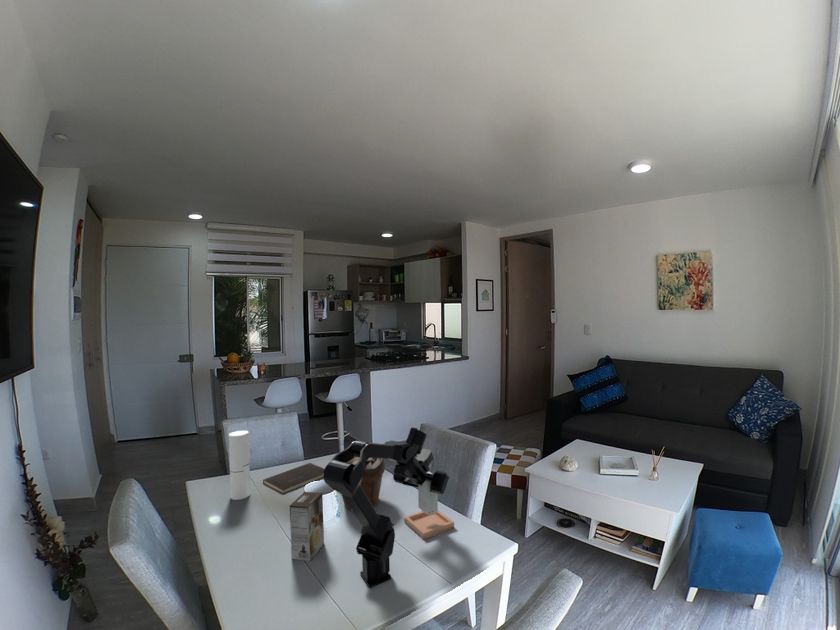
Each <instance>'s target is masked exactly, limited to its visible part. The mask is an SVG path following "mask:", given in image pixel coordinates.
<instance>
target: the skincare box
mask: <svg viewBox="0 0 840 630" xmlns="http://www.w3.org/2000/svg"><path fill="white" fill-rule="evenodd" d="M427 473H429V474H433V473H432V472H431V471H429V472H427ZM430 484H431V482H428V481H425V482H424V483H423V484H422V486H420V485H418V487H417V490H418V491H417V492H418V495H417V496H418V501H417V502H418V503H417V504H418V506H417V507H418V509H420V510H421V511H423V512H425V513H426V514H427V515H431V514H434V513H437V512H438V510H439V509H438V508H439V507H438V505H439V503H438V498H439V497H438V493H433V492H430Z"/></svg>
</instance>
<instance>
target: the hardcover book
mask: <svg viewBox="0 0 840 630" xmlns="http://www.w3.org/2000/svg"><path fill="white" fill-rule="evenodd" d="M324 469H325V467H321V466H319V465H316V464H314V463H312V462H309V463H306V464H303V465H300V466H298V467H295V468H291V469H288V470H286V471H283V472H281V473H277V474H275V475H272V476H269V477H267V478H264V479H263V480H262V484H265V485H267V486H268V487H271V488H272V489H273V490H276V491H278V492H280V493H282V494H284V493H287V492H289V491H292V490H295V489H296V488H300V487H302V486H304V485H307V484H309V482H310V483H312V482H314V481H317V480H319V479H321V478H322V479H323V475H324Z"/></svg>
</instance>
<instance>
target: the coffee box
mask: <svg viewBox="0 0 840 630" xmlns="http://www.w3.org/2000/svg"><path fill="white" fill-rule="evenodd" d="M323 504H324V503H323V492H315V491H314V492H311V491H309V492H308V491H304V492H303V493H301V495H300V496H298V497H297V498H296V499H295V500H293V502H292V503H291V504H290V505H289V522H290V523H289V525H290V528H289V529H290V551H291V560H296V561H297V560H300V561H307V562H310V561H312V560H313V558H314V557H315V555H316V554H317V553H318V552H319V550H321V548H322V547H323V545H324V544H325V536H324V535H325V531H324V507H323V506H324V505H323Z"/></svg>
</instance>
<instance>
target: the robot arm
mask: <svg viewBox="0 0 840 630" xmlns="http://www.w3.org/2000/svg"><path fill="white" fill-rule="evenodd" d="M427 437H428V436H427V433H425V432H423V431H421V430H420V429H418V428H417V427H410V429H409V433H408V435H407V438H406V440H405V441H396V440H389V441H385V442H384V443H379V442H368V441H361V440H353V441H352V442H351V443H350V444H349V445H348V447H346V448H344V449H343V450H341V451H339V452H338V453H336V454H335V455H334V456H333V457H332V458H331V460H330V461H329V462H328V463H327V464H326V466H325V467H324V475H323V477H322V479H323V481H324V483H325V484H327V486H328V487H330V488H331V489H332V490H334V491H335V492H337V493H339V494H340V495H341V496H342V495H343V497H344V498H345V500H346V501H347V503H348V505H349V506H350V508H351V509H352V510H351V509H350V510H351V511H352V512H353V515H355V517H356V518H357V520H358V522H359V523H360V525H361V526H362V527H361V530H360V533H361V535H360V538H359V539H358V543H357V545H356V547H355V549H356V550H355V551H356V552H357V555H361V557H362V558H361V559H362V560H361V563H362V570H361V571H360V572H359V574H360V577H361V578H362V579H363V580H364V582H365V583H366V585H367V586H368V587H369V588H373V587H375V586H377V585H379V584H382V583H384V582H386V581H389V580H390V579H392V575H391V574H390V563H391V562H390V557H391V556H392V555H393V552H394V545H395V539H396V533H395V532H396V531H395V528H394V525H395V524H394V523H392V521H391V518H390V517H389V516H388V515H385V514H382V513H378V512H377V511H376V509H375V508H374V507H375V506H374V507H373V506H372V504H371V502H370V501H369V499H368V497H367V496H366V494H365V492H364V491H363V489H362V487H361V486H360V483H361V480H362V477H361V476H362V475H363V474H364V472H365V471H366V463H367V460H368V459H369V458H384V460H387V461H391V462H395V465H394V468H393V469H394V470H393V474H392V475H393V476H392V479H393V481H394V482H395V483H398V484H400V485H404V486H407V487H413V488H418V485H420V486H422V484H423V483H424V482H425V481H428V482H431V484H430V492H433V493H438V494H439V495H443V494H444V493H445V491H446V488H447V484H448V481H449V479H450V476H449V475H448V473H447V472H444V471H440V470H436V471H435V472H434V473H432V474H429V473H427V472H430V470H431V468H430V467H429V466H430V465H431V463H432V462H433V461H434V458H435V457H434V455H433V452H432V450H431V449H428V448H424V445H425V443H426V440H427ZM354 457H359V458H360V460H359V462H358V463H357V464H356V465H355V464H351V463H347V462H348V461H350V460H352V459H353V458H354ZM343 497H342V498H343Z"/></svg>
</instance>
